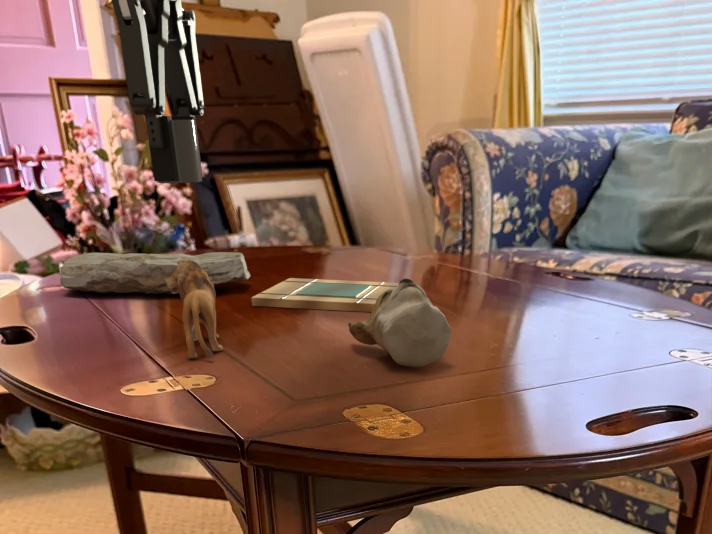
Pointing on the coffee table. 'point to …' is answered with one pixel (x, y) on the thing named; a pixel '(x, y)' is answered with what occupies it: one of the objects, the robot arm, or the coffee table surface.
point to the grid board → (323, 294)
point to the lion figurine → (195, 304)
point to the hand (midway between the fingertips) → (179, 178)
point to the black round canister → (186, 152)
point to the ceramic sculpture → (405, 326)
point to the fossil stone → (144, 271)
